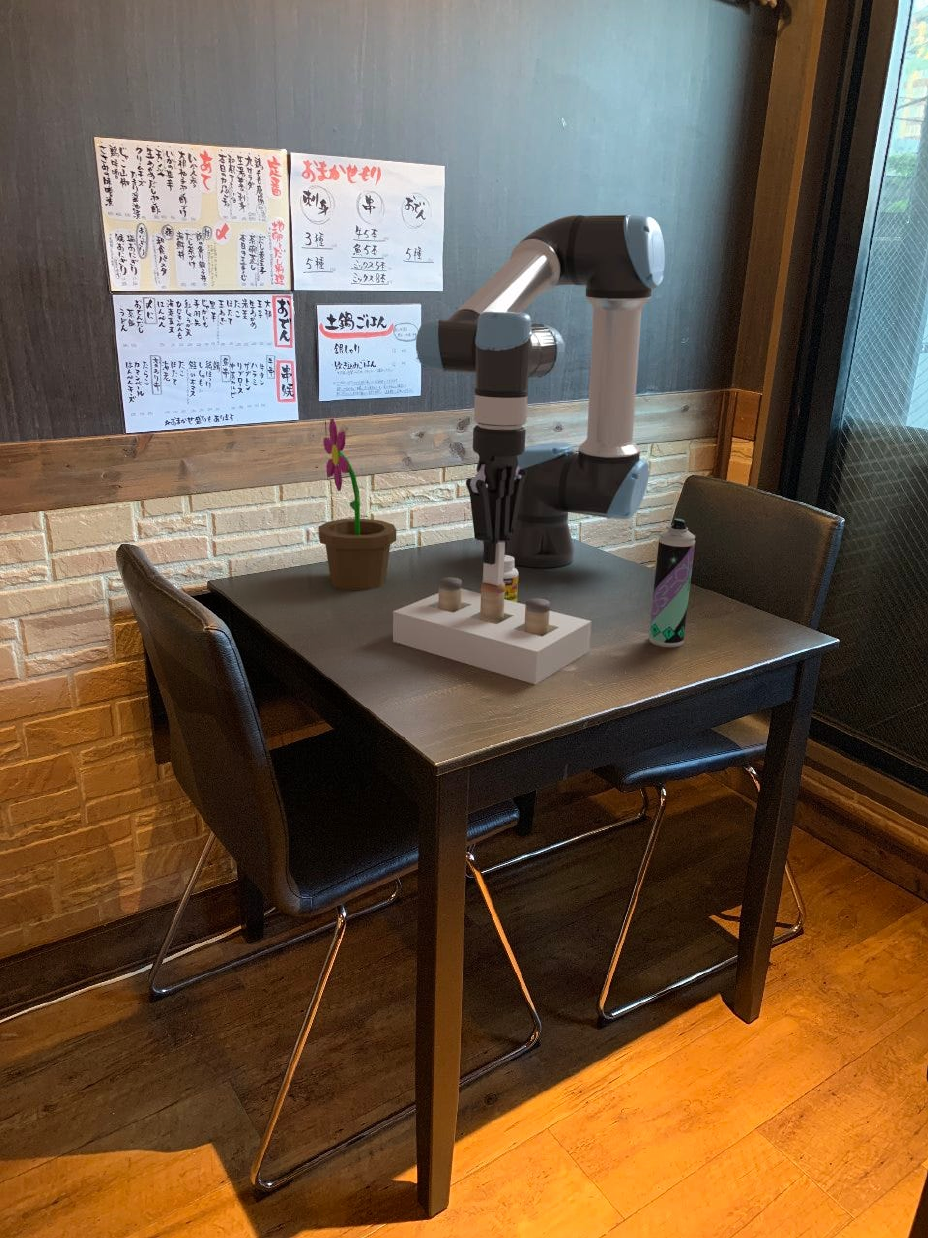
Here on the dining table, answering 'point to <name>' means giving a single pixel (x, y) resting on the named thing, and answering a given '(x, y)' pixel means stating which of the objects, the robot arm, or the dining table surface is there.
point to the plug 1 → (450, 594)
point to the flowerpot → (353, 532)
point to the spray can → (672, 585)
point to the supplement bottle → (510, 579)
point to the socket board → (492, 637)
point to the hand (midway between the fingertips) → (492, 582)
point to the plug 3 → (537, 616)
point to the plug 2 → (492, 602)
